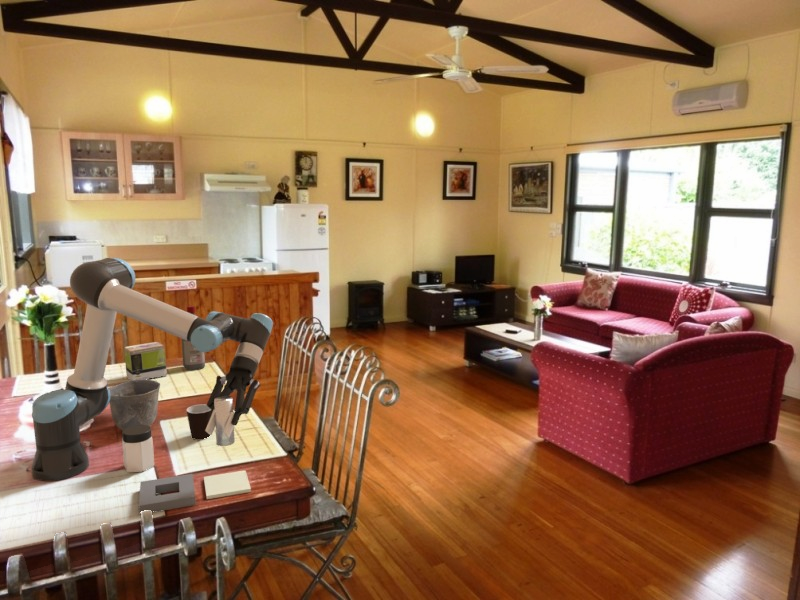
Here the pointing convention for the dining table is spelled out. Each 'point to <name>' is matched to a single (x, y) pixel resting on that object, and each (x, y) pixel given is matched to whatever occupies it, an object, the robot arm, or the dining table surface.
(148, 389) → the grey tapered pot
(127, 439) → the jar
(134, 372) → the tea box
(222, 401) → the steel peg
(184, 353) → the liquor
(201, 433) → the coffee mug
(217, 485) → the cream square tile
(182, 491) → the grey square base
